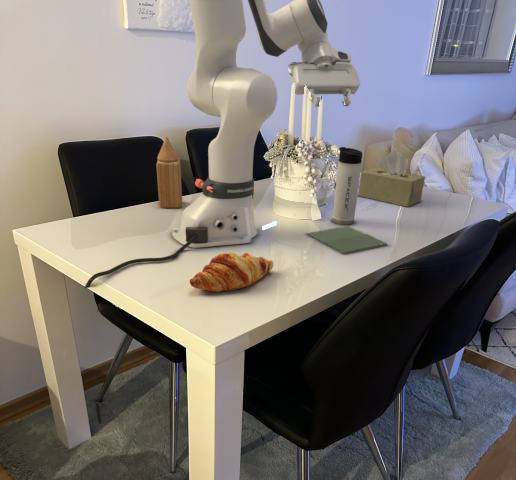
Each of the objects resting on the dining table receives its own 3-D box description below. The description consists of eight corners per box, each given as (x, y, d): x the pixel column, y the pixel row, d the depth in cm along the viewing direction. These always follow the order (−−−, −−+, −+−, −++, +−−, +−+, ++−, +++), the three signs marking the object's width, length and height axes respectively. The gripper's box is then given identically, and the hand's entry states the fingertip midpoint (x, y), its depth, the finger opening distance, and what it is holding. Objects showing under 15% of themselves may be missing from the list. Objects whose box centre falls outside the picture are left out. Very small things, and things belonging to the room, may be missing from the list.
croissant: (263, 280, 117) (254, 246, 116) (290, 274, 109) (281, 238, 108) (185, 303, 105) (174, 265, 104) (209, 297, 97) (198, 257, 96)
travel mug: (338, 216, 150) (346, 145, 140) (357, 221, 147) (367, 149, 136) (326, 221, 146) (334, 148, 136) (346, 226, 142) (355, 152, 132)
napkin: (344, 254, 124) (344, 251, 124) (306, 234, 136) (307, 232, 135) (386, 245, 130) (387, 243, 130) (347, 227, 142) (348, 225, 141)
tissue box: (357, 195, 171) (363, 146, 163) (370, 190, 177) (377, 143, 169) (408, 207, 161) (418, 155, 153) (421, 201, 167) (431, 151, 159)
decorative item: (160, 202, 157) (156, 133, 147) (182, 202, 158) (179, 133, 147) (159, 208, 152) (154, 137, 141) (181, 208, 152) (178, 137, 142)
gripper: (290, 53, 137) (303, 97, 134) (355, 54, 144) (368, 96, 141) (282, 71, 143) (294, 113, 140) (345, 71, 149) (358, 111, 147)
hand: (332, 104), depth 141 cm, fingers open, 8 cm apart
